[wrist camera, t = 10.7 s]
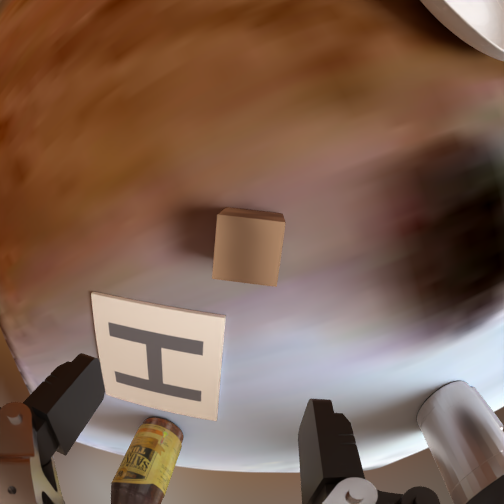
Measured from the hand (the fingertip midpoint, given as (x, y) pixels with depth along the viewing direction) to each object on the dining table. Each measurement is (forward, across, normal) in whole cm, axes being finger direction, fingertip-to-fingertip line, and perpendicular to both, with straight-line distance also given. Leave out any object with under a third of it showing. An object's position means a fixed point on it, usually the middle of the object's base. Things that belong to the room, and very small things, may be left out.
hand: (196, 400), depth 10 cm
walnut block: (+19, -1, -2) cm, 19 cm away
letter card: (+19, +8, +13) cm, 24 cm away
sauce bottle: (+19, +8, +26) cm, 33 cm away
